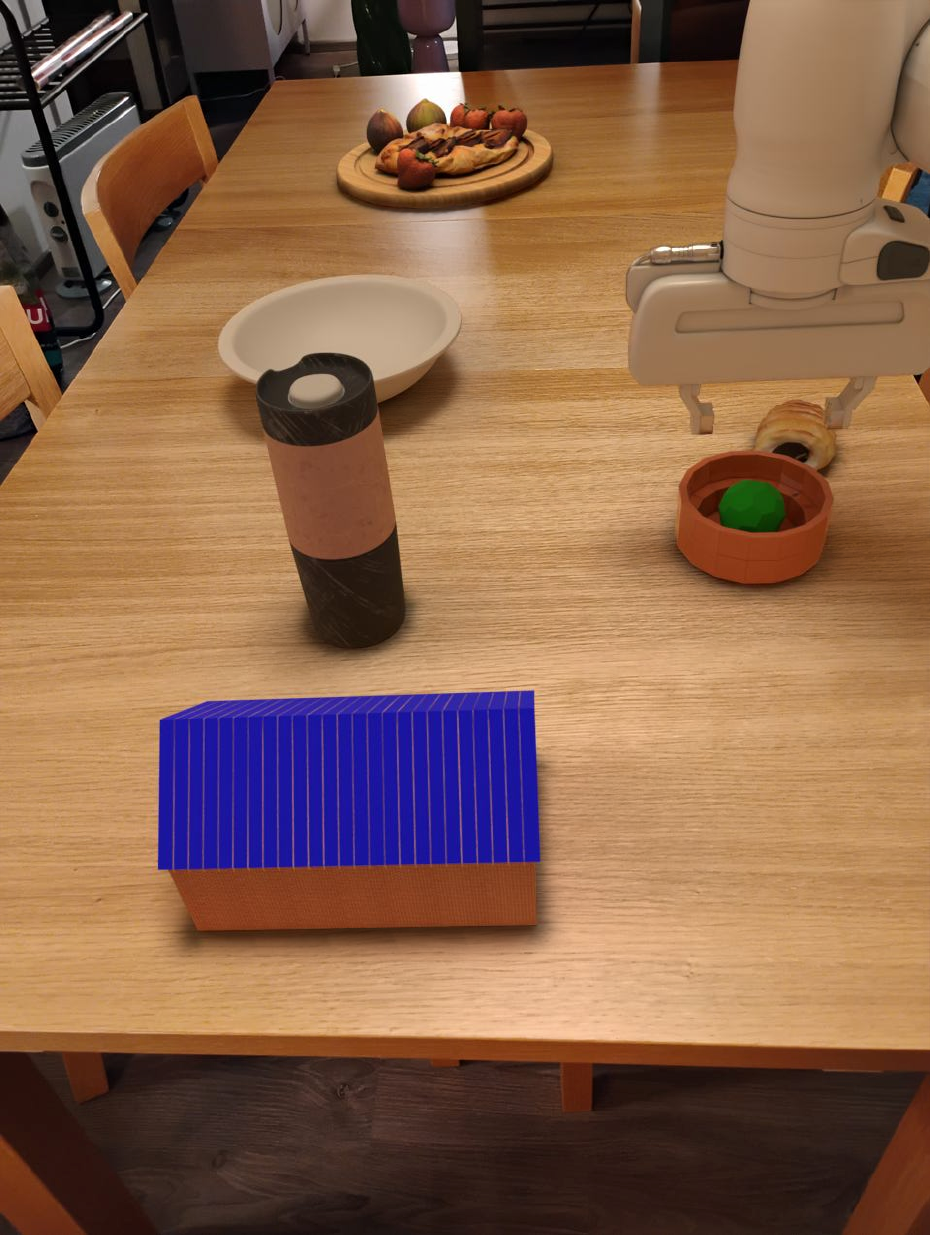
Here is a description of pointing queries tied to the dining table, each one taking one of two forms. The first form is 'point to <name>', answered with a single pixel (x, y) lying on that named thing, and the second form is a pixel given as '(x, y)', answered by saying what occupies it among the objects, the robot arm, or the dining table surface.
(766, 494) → the polyhedron
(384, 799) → the house
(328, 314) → the soup bowl
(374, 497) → the travel mug
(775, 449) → the pastry
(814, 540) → the dessert bowl
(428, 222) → the dining table surface
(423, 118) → the wooden plate
